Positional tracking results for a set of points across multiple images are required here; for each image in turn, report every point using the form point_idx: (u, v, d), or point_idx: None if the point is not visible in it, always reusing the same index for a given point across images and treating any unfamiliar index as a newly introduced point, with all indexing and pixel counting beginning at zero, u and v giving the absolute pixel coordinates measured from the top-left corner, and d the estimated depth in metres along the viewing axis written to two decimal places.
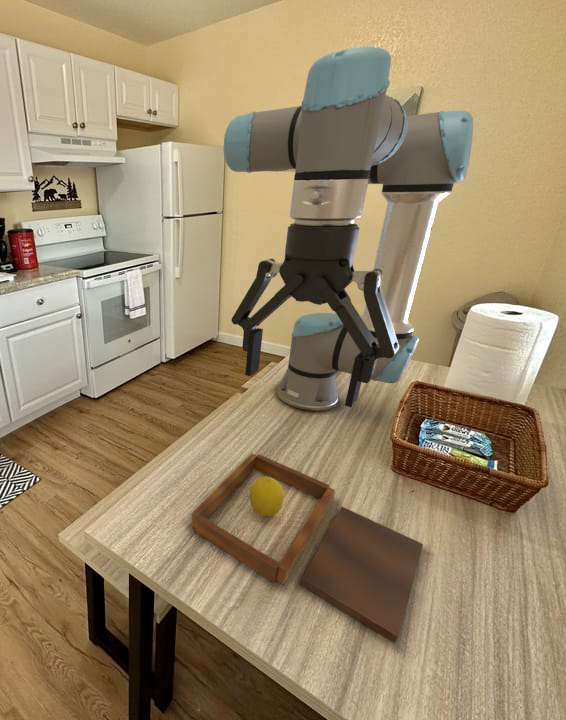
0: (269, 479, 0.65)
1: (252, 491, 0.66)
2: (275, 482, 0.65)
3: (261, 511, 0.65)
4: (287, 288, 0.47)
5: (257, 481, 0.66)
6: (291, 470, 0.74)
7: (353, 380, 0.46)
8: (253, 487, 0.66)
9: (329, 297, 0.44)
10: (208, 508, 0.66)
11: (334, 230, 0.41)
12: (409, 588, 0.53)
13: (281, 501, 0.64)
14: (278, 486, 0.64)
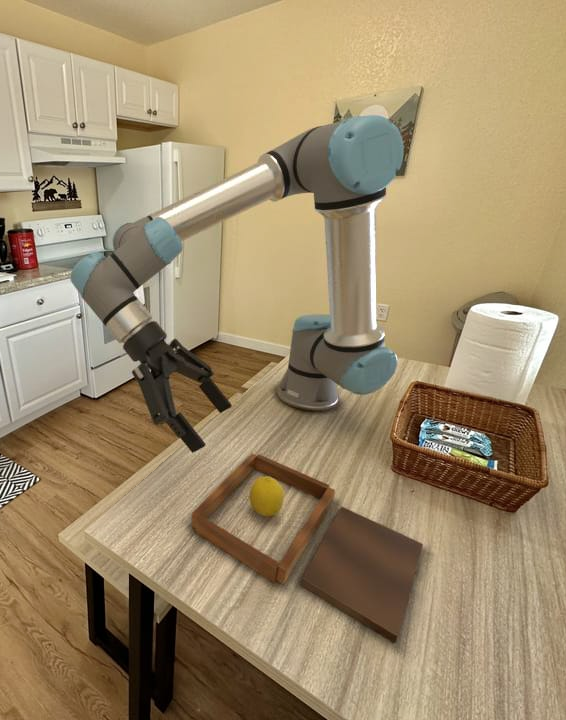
0: (269, 479, 0.65)
1: (252, 491, 0.66)
2: (275, 482, 0.65)
3: (261, 511, 0.65)
4: None
5: (257, 481, 0.66)
6: (291, 470, 0.74)
7: None
8: (253, 487, 0.66)
9: None
10: (208, 508, 0.66)
11: (123, 348, 0.67)
12: (409, 588, 0.53)
13: (281, 501, 0.64)
14: (278, 486, 0.64)
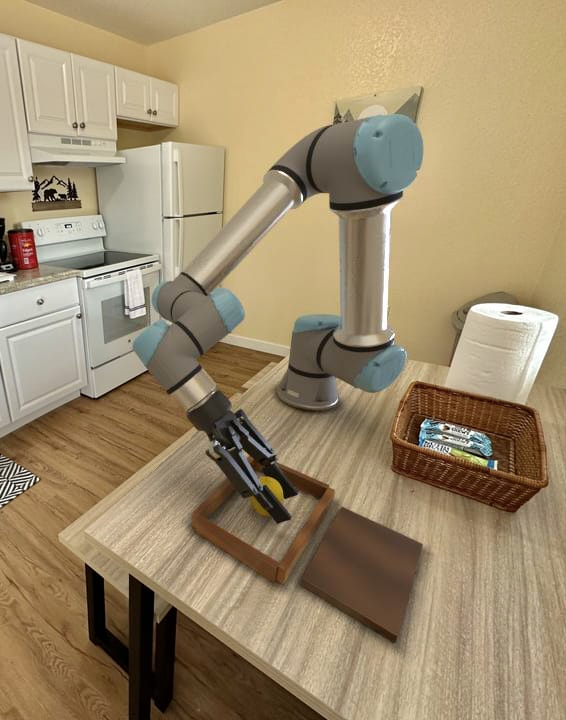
0: (269, 479, 0.65)
1: None
2: (275, 482, 0.65)
3: (261, 511, 0.65)
4: None
5: None
6: (291, 470, 0.74)
7: None
8: None
9: None
10: (208, 508, 0.66)
11: (186, 416, 0.66)
12: (409, 588, 0.53)
13: (281, 501, 0.64)
14: (278, 486, 0.64)
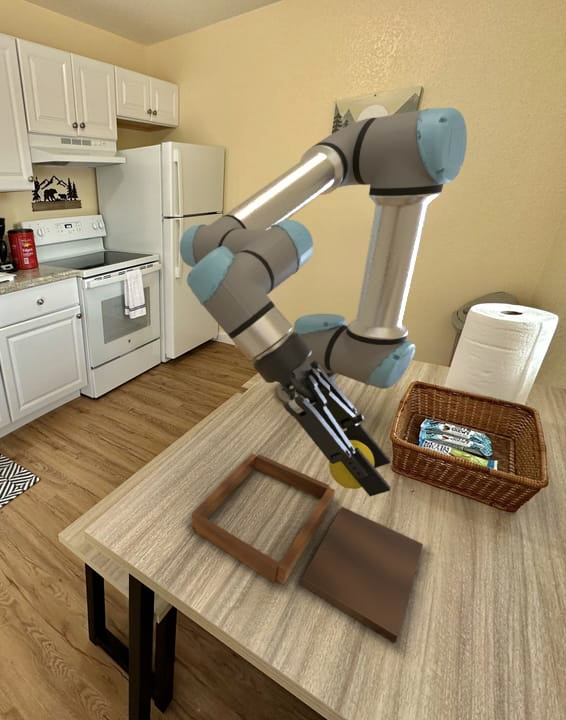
0: (357, 442, 0.52)
1: None
2: (365, 446, 0.52)
3: (346, 482, 0.52)
4: None
5: None
6: (291, 470, 0.74)
7: None
8: None
9: None
10: (208, 508, 0.66)
11: (254, 366, 0.54)
12: (409, 588, 0.53)
13: None
14: (369, 451, 0.52)
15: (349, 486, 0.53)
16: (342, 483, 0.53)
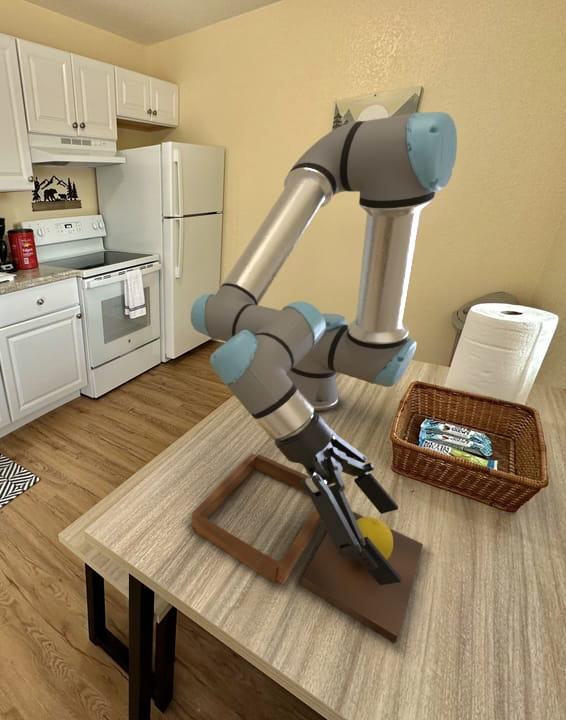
0: (377, 521, 0.54)
1: None
2: (384, 525, 0.54)
3: None
4: None
5: (360, 523, 0.55)
6: (291, 470, 0.74)
7: None
8: None
9: None
10: (208, 508, 0.66)
11: (276, 445, 0.55)
12: (409, 588, 0.53)
13: (392, 548, 0.54)
14: (388, 530, 0.54)
15: None
16: None
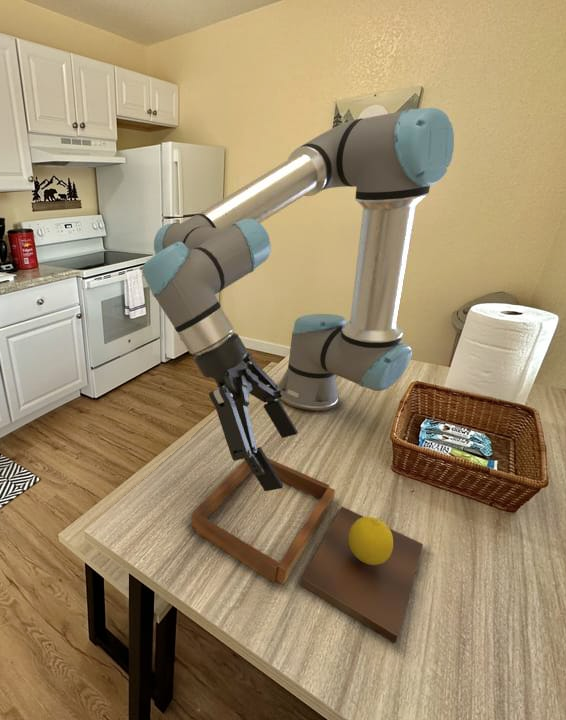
0: (377, 521, 0.54)
1: (354, 535, 0.55)
2: (384, 525, 0.54)
3: (366, 559, 0.54)
4: None
5: (360, 523, 0.55)
6: (291, 470, 0.74)
7: None
8: (355, 530, 0.55)
9: None
10: (208, 508, 0.66)
11: (194, 360, 0.57)
12: (409, 588, 0.53)
13: (392, 548, 0.54)
14: (388, 530, 0.54)
15: (369, 563, 0.55)
16: (362, 560, 0.55)
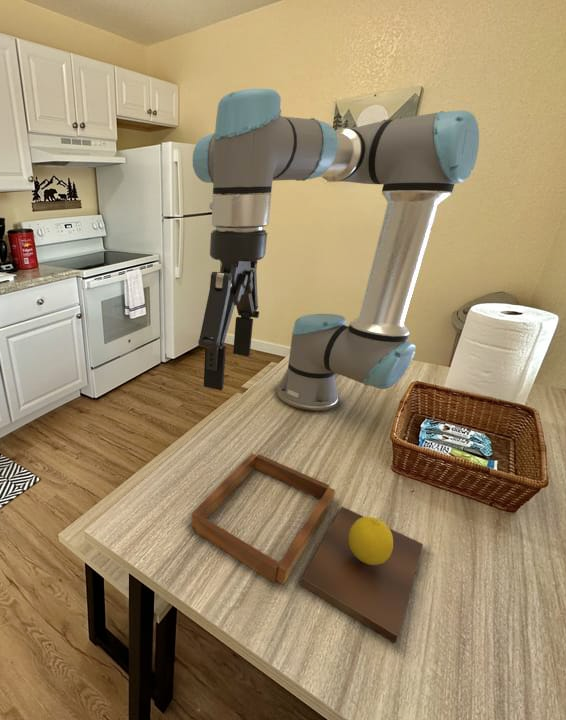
0: (377, 521, 0.54)
1: (354, 535, 0.55)
2: (384, 525, 0.54)
3: (366, 559, 0.54)
4: None
5: (360, 523, 0.55)
6: (291, 470, 0.74)
7: None
8: (355, 530, 0.55)
9: None
10: (208, 508, 0.66)
11: (212, 234, 0.52)
12: (409, 588, 0.53)
13: (392, 548, 0.54)
14: (388, 530, 0.54)
15: (369, 563, 0.55)
16: (362, 560, 0.55)
